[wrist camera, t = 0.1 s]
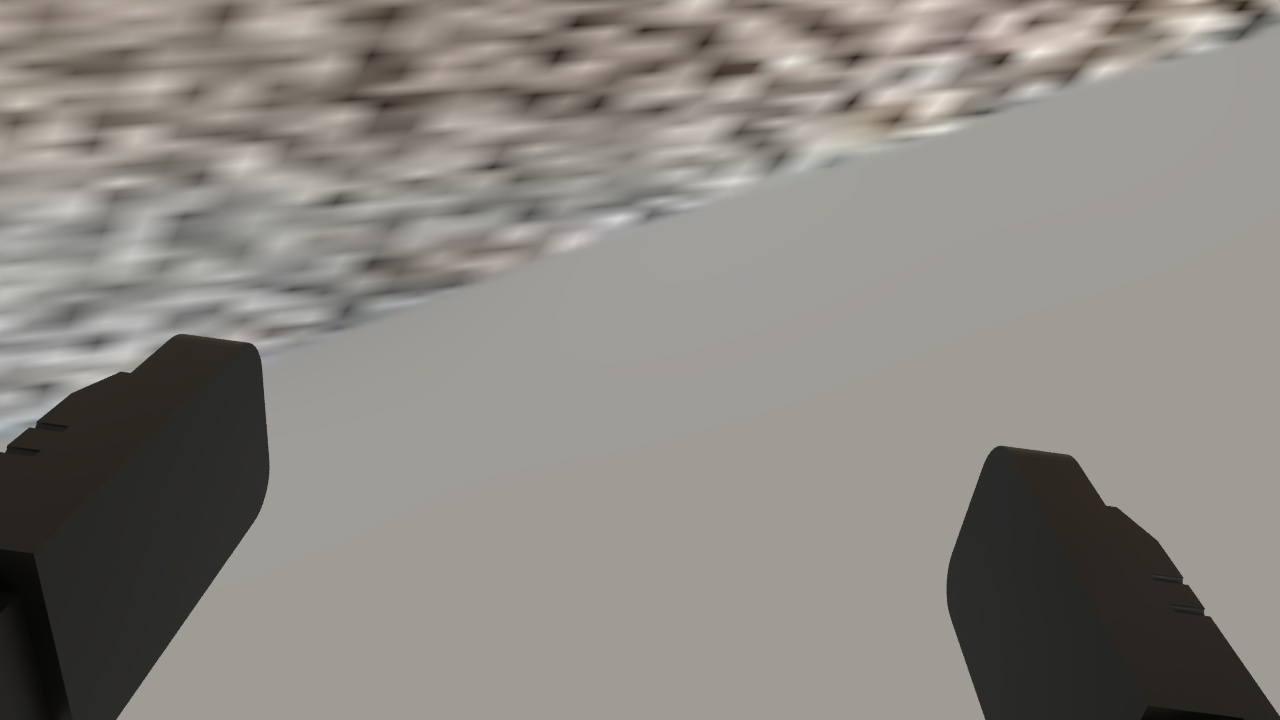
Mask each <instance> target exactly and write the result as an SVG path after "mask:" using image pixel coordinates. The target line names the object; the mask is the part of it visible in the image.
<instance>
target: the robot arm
mask: <svg viewBox="0 0 1280 720" xmlns="http://www.w3.org/2000/svg"><path fill="white" fill-rule="evenodd" d="M264 401H265V400H264V388H263V375H262V365H261V359H260V355H259V353H258V350H257V349H256V347H255V346H254V345H253V344H251V343H246V342H239V341H231V340H224V339H216V338H209V337H201V336H194V335H187V334H178V335H176V336H174V337H172V338H171V339H170V340H169V341H167V342H166V343H165V344H164V345H163V346H162V347H160V348H159V349H158V350H157V351H156V352H155V353H153V354H152V355H151V356H150V357H149V358H148V359H147V360H145V361H144V362H143V363H142V364H141V365H140V366H138V367H137V368H136V369H135V370H134V371H133V372H131V373H127V372H119V373H117V374H115V375H112V376H110V377H108V378H105V379H103V380H101V381H99V382H96V383H94V384H92V385H89V386H87V387H85V388H83V389H80V390H78V391H76V392H73V393H71V394H70V395H69V396H68V397H66V398H65V399H64V400H63V401H61V402H60V403H59V404H58V405H57V406H55V407H54V408H53V409H52V410H50V411H49V412H48V413H47V414H46V415H44V416H43V417H42V418H41V419H39V420H38V421H37V425H36V427H35V428H28V429H27V430H26V431H25V432H23V433H22V434H21V435H20V436H18V437H17V438H16V439H15V440H14V441H12V442H11V443H10V444H9V445H8V446H7V451H6V452H5V453H2V452H0V720H116V719H117V718H118V716H119V715H120V713H121V712H122V710H123V709H124V708H125V706H126V705H127V703H128V702H129V700H130V699H131V697H132V696H133V695H134V693H135V692H136V690H137V689H138V688H139V686H140V685H141V683H142V682H143V680H144V679H145V677H146V676H147V675H148V673H149V672H150V670H151V669H152V667H153V666H154V665H155V663H156V662H157V660H158V658H159V657H160V656H161V655H162V653H163V652H164V650H165V649H166V647H167V646H168V644H169V643H170V642H171V640H172V639H173V637H174V636H175V634H176V633H177V631H178V630H179V629H180V627H181V626H182V624H183V623H184V621H185V620H186V619H187V617H188V616H189V614H190V613H191V611H192V610H193V609H194V607H195V606H196V604H197V603H198V601H199V600H200V599H201V597H202V596H203V594H204V593H205V591H206V590H207V589H208V587H209V586H210V584H211V583H212V581H213V580H214V578H215V577H216V576H217V574H218V573H219V571H220V570H221V568H222V567H223V565H224V564H225V563H226V561H227V560H228V558H229V557H230V556H231V554H232V553H233V551H234V550H235V548H236V547H237V546H238V544H239V543H240V541H241V540H242V538H243V537H244V535H245V534H246V533H247V531H248V530H249V528H250V527H251V525H252V524H253V523H254V521H255V519H256V518H257V516H258V514H259V512H260V510H261V507H262V505H263V501H264V498H265V495H266V490H267V486H268V479H269V452H268V438H267V426H266V413H265V402H264ZM947 604H948V609H949V613H950V617H951V620H952V623H953V626H954V629H955V632H956V635H957V638H958V641H959V644H960V647H961V650H962V653H963V656H964V658H965V661H966V664H967V667H968V670H969V673H970V676H971V679H972V682H973V684H974V688H975V691H976V693H977V697H978V700H979V702H980V705H981V708H982V711H983V714H984V717H985V720H1280V716H1279V715H1278V713H1277V712H1276V710H1275V709H1274V707H1273V706H1272V705H1271V703H1270V702H1269V700H1268V699H1267V697H1266V696H1265V695H1264V693H1263V692H1262V690H1261V689H1260V687H1259V686H1258V685H1257V683H1256V682H1255V680H1254V679H1253V677H1252V676H1251V674H1250V673H1249V672H1248V670H1247V669H1246V667H1245V666H1244V664H1243V663H1242V662H1241V660H1240V659H1239V657H1238V656H1237V654H1236V653H1235V651H1234V650H1233V649H1232V647H1231V646H1230V644H1229V643H1228V641H1227V640H1226V638H1225V637H1224V636H1223V634H1222V633H1221V631H1220V630H1219V628H1218V627H1217V626H1216V624H1215V623H1214V621H1213V620H1212V618H1211V617H1209V616H1205V615H1204V609H1205V608H1204V607H1203V605H1202V604H1201V603H1200V601H1199V600H1198V598H1197V597H1196V595H1195V594H1194V592H1193V591H1192V590H1191V588H1190V587H1189V586H1188V585H1184V584H1183V577H1182V575H1181V574H1180V572H1179V571H1178V569H1177V568H1176V567H1175V565H1174V564H1173V562H1172V561H1171V559H1170V558H1169V556H1168V555H1167V554H1166V552H1165V551H1164V549H1163V548H1162V546H1161V545H1160V544H1159V542H1158V541H1157V540H1156V539H1155V538H1153V537H1152V536H1151V535H1150V534H1149V533H1147V532H1146V531H1145V530H1144V529H1143V528H1141V527H1140V526H1139V525H1138V524H1136V523H1135V522H1134V521H1133V520H1132V519H1130V518H1129V517H1128V516H1127V515H1125V514H1124V513H1123V512H1122V511H1121V510H1119V509H1118V508H1117V507H1111V506H1106V505H1105V504H1104V502H1103V501H1102V499H1101V498H1100V496H1099V494H1098V493H1097V491H1096V490H1095V488H1094V487H1093V485H1092V484H1091V482H1090V481H1089V479H1088V478H1087V476H1086V475H1085V473H1084V471H1083V470H1082V468H1081V467H1080V465H1079V464H1078V462H1077V461H1076V460H1075V459H1074V458H1073V457H1072V456H1070V455H1066V454H1058V453H1051V452H1044V451H1036V450H1029V449H1021V448H1014V447H1007V446H998V447H996V448H994V449H993V450H992V451H991V452H990V454H989V455H988V457H987V459H986V461H985V463H984V465H983V468H982V471H981V474H980V476H979V479H978V482H977V485H976V488H975V491H974V493H973V496H972V499H971V502H970V505H969V507H968V511H967V513H966V516H965V519H964V521H963V524H962V527H961V530H960V533H959V536H958V538H957V541H956V544H955V547H954V550H953V552H952V556H951V559H950V563H949V568H948V574H947Z"/></svg>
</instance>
